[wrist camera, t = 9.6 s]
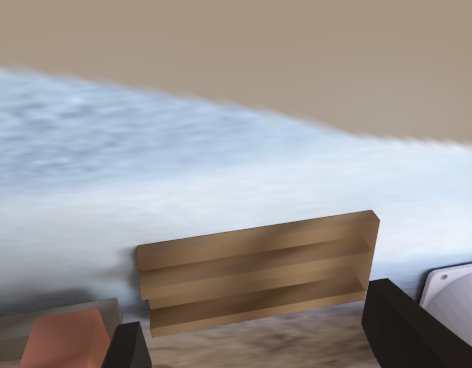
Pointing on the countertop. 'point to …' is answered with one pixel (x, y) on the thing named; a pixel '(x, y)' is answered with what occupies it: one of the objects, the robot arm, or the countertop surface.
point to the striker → (61, 335)
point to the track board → (256, 272)
